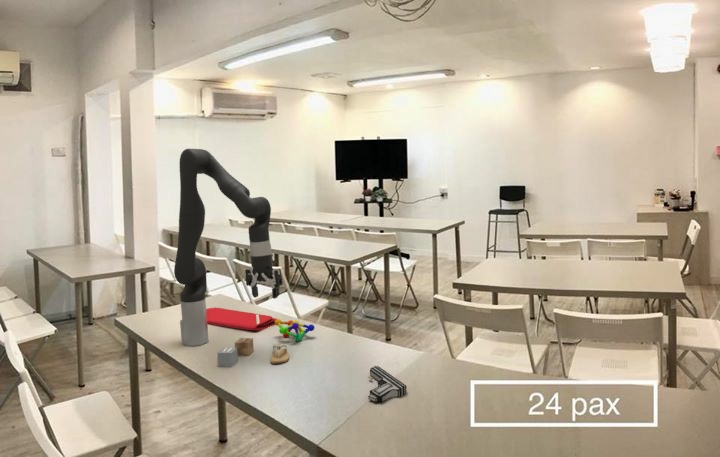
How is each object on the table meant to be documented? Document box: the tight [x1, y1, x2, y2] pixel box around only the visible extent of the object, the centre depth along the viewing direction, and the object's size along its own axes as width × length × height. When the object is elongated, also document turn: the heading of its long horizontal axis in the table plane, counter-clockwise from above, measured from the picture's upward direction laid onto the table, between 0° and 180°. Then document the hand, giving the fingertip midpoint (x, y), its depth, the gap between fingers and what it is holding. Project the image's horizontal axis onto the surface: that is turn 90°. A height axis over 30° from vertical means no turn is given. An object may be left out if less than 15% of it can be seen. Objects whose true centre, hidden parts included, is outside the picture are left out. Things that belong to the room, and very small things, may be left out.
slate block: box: [217, 347, 239, 368], centre depth 179 cm, size 5×5×5 cm
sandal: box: [269, 343, 290, 365], centre depth 184 cm, size 7×16×5 cm, turn 13°
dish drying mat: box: [206, 307, 277, 332], centre depth 228 cm, size 16×41×4 cm, turn 58°
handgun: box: [367, 365, 408, 404], centre depth 156 cm, size 3×19×12 cm
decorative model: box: [275, 318, 315, 342], centre depth 202 cm, size 13×9×15 cm
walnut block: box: [234, 337, 255, 357], centre depth 188 cm, size 5×5×5 cm
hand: (265, 297), depth 186 cm, fingers open, 8 cm apart
